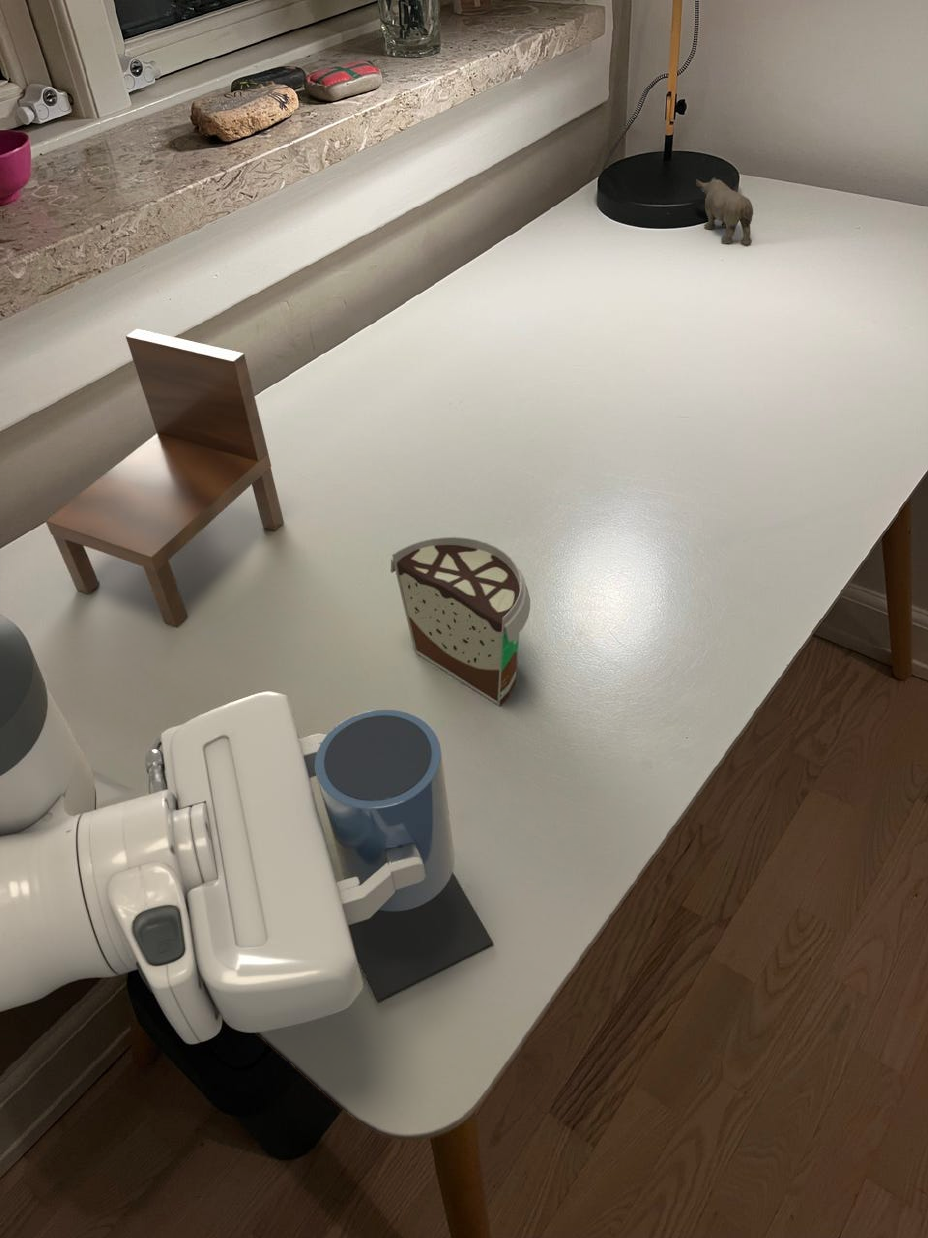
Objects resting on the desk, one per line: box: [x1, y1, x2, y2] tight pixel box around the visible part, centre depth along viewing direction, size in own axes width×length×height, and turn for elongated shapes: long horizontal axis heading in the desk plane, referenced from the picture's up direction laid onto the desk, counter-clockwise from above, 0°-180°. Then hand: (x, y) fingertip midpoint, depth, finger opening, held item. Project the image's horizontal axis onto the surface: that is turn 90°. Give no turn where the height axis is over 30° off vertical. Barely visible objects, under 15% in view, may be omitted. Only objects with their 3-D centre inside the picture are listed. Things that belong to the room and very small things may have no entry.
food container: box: [390, 536, 531, 707], centre depth 80 cm, size 12×6×10 cm, turn 47°
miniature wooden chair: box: [45, 328, 285, 628], centre depth 90 cm, size 16×12×18 cm
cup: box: [315, 709, 456, 912], centre depth 59 cm, size 7×7×10 cm
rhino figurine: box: [695, 177, 754, 246], centre depth 137 cm, size 4×14×6 cm, turn 18°
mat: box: [348, 872, 494, 1003], centre depth 67 cm, size 8×8×1 cm
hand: (402, 803), depth 58 cm, fingers closed on cup, 7 cm apart
